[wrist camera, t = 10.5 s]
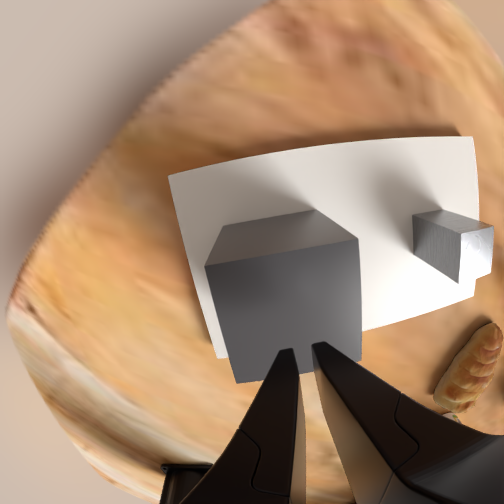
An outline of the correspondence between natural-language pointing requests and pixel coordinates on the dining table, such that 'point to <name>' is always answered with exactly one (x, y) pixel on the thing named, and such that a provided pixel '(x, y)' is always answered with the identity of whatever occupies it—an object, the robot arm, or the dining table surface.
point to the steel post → (453, 244)
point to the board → (340, 212)
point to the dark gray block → (285, 290)
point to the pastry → (470, 370)
